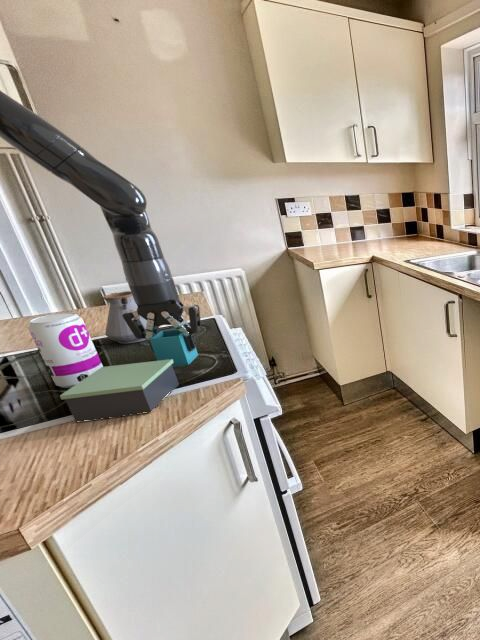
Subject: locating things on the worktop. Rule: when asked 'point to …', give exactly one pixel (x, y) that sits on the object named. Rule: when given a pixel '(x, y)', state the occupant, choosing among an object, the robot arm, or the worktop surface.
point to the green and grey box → (121, 390)
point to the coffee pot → (121, 317)
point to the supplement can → (65, 347)
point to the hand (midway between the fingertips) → (176, 351)
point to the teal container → (172, 347)
